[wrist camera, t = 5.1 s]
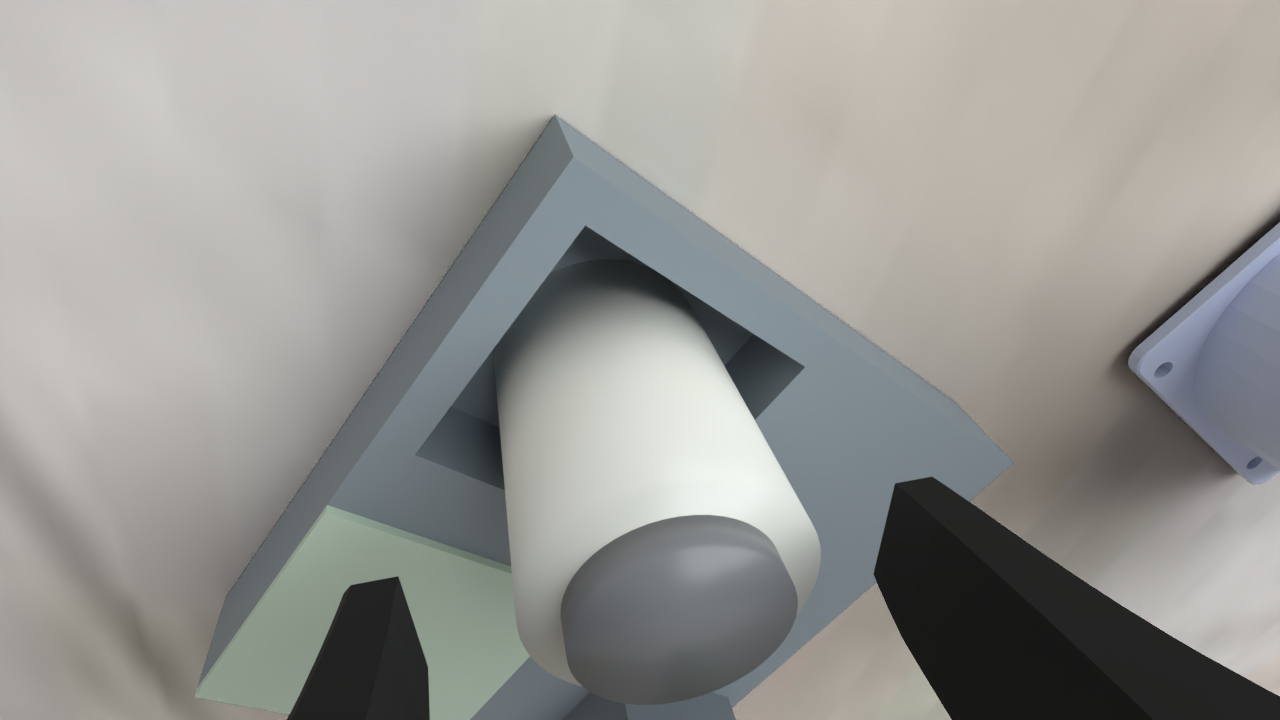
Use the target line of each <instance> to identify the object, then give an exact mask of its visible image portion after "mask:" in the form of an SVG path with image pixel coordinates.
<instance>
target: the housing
mask: <svg viewBox="0 0 1280 720" xmlns="http://www.w3.org/2000/svg"><path fill="white" fill-rule="evenodd" d="M601 259H613V260H623V261H629V262H633V263H637V264H640V265H643V266H646V267H648V268H651V269H653V270H655V271H656V272H658V273H660V274H661V275H663V276H665V277H666V278H667V279H669V280H670V281H671V282H673V283H674V284H675V285H676V286H677V287H678V288H679V289H680V290H681V292H682V293H683V294H684V296H685V297H686V299H687V300H688V302H689V303H690V305H691V307H692V309H693V311H694V312H695V314H696V316H697V318H698V320H699V321H700V323H701V325H702V327H703V329H704V330H705V332H706V334H707V336H708V338H709V339H710V341H711V343H712V345H713V346H714V348H715V350H716V352H717V354H718V355H719V357H720V359H721V361H722V363H723V364H724V366H725V368H726V370H727V372H728V373H729V375H730V377H731V379H732V381H733V382H734V384H735V386H736V388H737V389H738V391H739V393H740V395H741V397H742V398H743V400H744V402H745V404H746V406H747V407H748V409H749V411H750V413H751V415H752V416H753V418H754V420H755V422H756V424H757V425H758V427H759V429H760V431H761V432H762V434H763V436H764V438H765V440H766V441H767V443H768V445H769V447H770V449H771V450H772V452H773V454H774V456H775V458H776V459H777V461H778V463H779V465H780V467H781V468H782V470H783V472H784V474H785V475H786V477H787V479H788V481H789V483H790V484H791V486H792V488H793V490H794V492H795V493H796V495H797V497H798V499H799V501H800V502H801V504H802V506H803V508H804V510H805V511H806V513H807V515H808V517H809V518H810V520H811V522H812V524H813V526H814V528H815V530H816V532H817V534H818V538H819V543H820V547H821V563H820V570H819V575H818V578H817V581H816V584H815V587H814V589H813V591H812V593H811V595H810V597H809V599H808V600H807V602H806V603H805V605H804V606H803V608H802V609H801V611H800V612H799V613H798V615H797V616H796V618H795V621H794V624H793V626H792V628H791V630H790V632H789V634H788V635H787V637H786V638H785V640H784V641H783V643H782V644H781V645H780V646H779V647H778V649H777V650H776V651H775V652H774V653H773V654H772V655H771V656H770V657H769V658H768V659H767V660H766V661H764V662H763V663H762V664H761V665H759V666H758V667H757V668H756V669H754V670H753V671H751V672H750V673H748V674H747V675H745V676H744V677H742V678H740V679H738V680H737V681H735V682H733V683H731V684H729V685H727V686H725V687H723V688H721V689H718V690H716V691H713V692H711V693H708V694H705V695H702V696H699V697H696V698H692V699H688V700H684V701H679V702H673V703H667V704H656V705H634V704H625V703H619V702H614V701H611V700H608V699H604V698H602V697H599V696H597V695H595V694H593V693H591V692H590V691H588V690H587V689H585V688H584V687H581V686H578V685H575V684H572V683H569V682H566V681H564V680H562V679H560V678H558V677H555V676H554V675H552V674H551V673H549V672H547V671H546V670H544V669H543V668H542V667H541V666H540V665H538V664H537V663H536V662H535V661H534V660H533V659H532V658H531V656H530V655H529V654H528V652H527V651H526V650H525V648H524V646H523V644H522V642H521V640H520V638H519V634H518V630H517V626H516V616H515V604H514V593H513V581H512V569H511V557H510V545H509V534H508V522H507V510H506V498H505V486H504V474H503V463H502V451H501V439H500V427H499V415H498V403H497V392H496V380H495V368H494V348H495V346H496V345H497V344H498V342H499V341H500V339H501V338H502V337H503V335H504V334H505V333H506V331H507V330H508V329H509V327H510V326H511V325H512V323H513V322H514V321H515V319H516V318H517V317H518V315H519V314H520V313H521V311H522V310H523V309H524V307H525V306H526V305H527V303H528V302H529V300H530V299H531V298H532V296H533V295H534V294H535V292H536V291H537V290H538V288H539V287H540V286H541V284H542V283H543V282H544V280H545V279H546V278H547V276H548V275H549V274H550V273H551V272H553V271H555V270H558V269H560V268H563V267H565V266H568V265H572V264H575V263H579V262H583V261H590V260H601ZM1013 463H1014V462H1013V461H1012V460H1011V459H1010V458H1009V457H1008V456H1007V455H1006V454H1005V453H1004V452H1003V451H1002V450H1001V449H1000V447H999V446H998V445H997V444H996V443H995V442H994V441H993V440H992V439H991V438H990V437H989V436H988V435H987V434H986V433H985V432H984V431H983V430H982V429H981V428H980V427H979V426H978V425H977V424H976V423H975V422H974V421H973V420H972V418H971V417H970V416H969V415H968V414H967V413H966V412H965V411H964V410H963V409H962V408H961V407H960V406H959V405H958V404H957V403H956V402H954V401H953V400H952V399H950V398H949V397H948V396H946V395H945V394H943V393H942V392H941V391H939V390H938V389H936V388H935V387H934V386H932V385H931V384H929V383H928V382H927V381H925V380H924V379H922V378H921V377H920V376H918V375H917V374H916V373H914V372H913V371H911V370H910V369H909V368H907V367H906V366H904V365H903V364H902V363H900V362H899V361H897V360H896V359H895V358H893V357H892V356H890V355H889V354H888V353H886V352H885V351H884V350H882V349H881V348H879V347H878V346H877V345H875V344H874V343H872V342H871V341H870V340H868V339H867V338H865V337H864V336H863V335H861V334H860V333H858V332H857V331H856V330H854V329H853V328H852V327H850V326H849V325H847V324H846V323H845V322H843V321H842V320H840V319H839V318H838V317H836V316H835V315H833V314H832V313H831V312H829V311H828V310H826V309H825V308H824V307H822V306H821V305H820V304H818V303H817V302H815V301H814V300H813V299H811V298H810V297H808V296H807V295H806V294H804V293H803V292H801V291H800V290H799V289H797V288H796V287H794V286H793V285H792V284H790V283H789V282H788V281H786V280H785V279H783V278H782V277H781V276H779V275H778V274H776V273H775V272H774V271H772V270H771V269H769V268H768V267H767V266H765V265H764V264H762V263H761V262H760V261H758V260H757V259H756V258H754V257H753V256H751V255H750V254H749V253H747V252H746V251H744V250H743V249H742V248H740V247H739V246H737V245H736V244H735V243H733V242H732V241H730V240H729V239H728V238H726V237H725V236H724V235H722V234H721V233H719V232H718V231H717V230H715V229H714V228H712V227H711V226H710V225H708V224H707V223H705V222H704V221H703V220H701V219H700V218H698V217H697V216H696V215H694V214H693V213H692V212H690V211H689V210H687V209H686V208H685V207H683V206H682V205H680V204H679V203H678V202H676V201H675V200H673V199H672V198H671V197H669V196H668V195H666V194H665V193H664V192H662V191H661V190H660V189H658V188H657V187H655V186H654V185H653V184H651V183H650V182H648V181H647V180H646V179H644V178H643V177H641V176H640V175H639V174H637V173H636V172H634V171H633V170H632V169H630V168H629V167H628V166H626V165H625V164H623V163H622V162H621V161H619V160H618V159H616V158H615V157H614V156H612V155H611V154H609V153H608V152H607V151H605V150H604V149H602V148H601V147H600V146H598V145H597V144H596V143H594V142H593V141H591V140H590V139H589V138H587V137H586V136H584V135H583V134H582V133H580V132H579V131H577V130H576V129H575V128H573V127H572V126H570V125H569V124H568V123H566V122H565V121H564V120H562V119H561V118H559V117H558V116H557V115H555V116H554V117H553V119H552V120H551V121H550V123H549V124H548V126H547V127H546V129H545V130H544V132H543V133H542V135H541V136H540V138H539V139H538V141H537V142H536V143H535V145H534V146H533V148H532V149H531V151H530V152H529V154H528V155H527V157H526V158H525V160H524V161H523V163H522V164H521V165H520V167H519V168H518V170H517V171H516V173H515V174H514V176H513V177H512V179H511V180H510V182H509V183H508V185H507V186H506V187H505V189H504V190H503V192H502V193H501V195H500V196H499V198H498V199H497V201H496V202H495V204H494V205H493V207H492V208H491V209H490V211H489V212H488V214H487V215H486V217H485V218H484V220H483V221H482V223H481V224H480V226H479V227H478V229H477V230H476V231H475V233H474V234H473V236H472V237H471V239H470V240H469V242H468V243H467V245H466V246H465V248H464V249H463V251H462V252H461V253H460V255H459V256H458V258H457V259H456V261H455V262H454V264H453V265H452V267H451V268H450V270H449V271H448V273H447V274H446V275H445V277H444V278H443V280H442V281H441V283H440V284H439V286H438V287H437V289H436V290H435V292H434V293H433V295H432V296H431V297H430V299H429V300H428V302H427V303H426V305H425V306H424V308H423V309H422V311H421V312H420V314H419V315H418V317H417V318H416V319H415V321H414V322H413V324H412V325H411V327H410V328H409V330H408V331H407V333H406V334H405V336H404V337H403V339H402V340H401V341H400V343H399V344H398V346H397V347H396V349H395V350H394V352H393V353H392V355H391V356H390V358H389V359H388V361H387V362H386V363H385V365H384V366H383V368H382V369H381V371H380V372H379V374H378V375H377V377H376V378H375V380H374V381H373V383H372V384H371V385H370V387H369V388H368V390H367V391H366V393H365V394H364V396H363V397H362V399H361V400H360V402H359V403H358V405H357V406H356V407H355V409H354V410H353V412H352V413H351V415H350V416H349V418H348V419H347V421H346V422H345V424H344V425H343V427H342V428H341V429H340V431H339V432H338V434H337V435H336V437H335V438H334V440H333V441H332V443H331V444H330V446H329V447H328V449H327V450H326V451H325V453H324V454H323V456H322V457H321V459H320V460H319V462H318V463H317V465H316V466H315V468H314V469H313V471H312V472H311V473H310V475H309V476H308V478H307V479H306V481H305V482H304V484H303V485H302V487H301V488H300V490H299V491H298V493H297V494H296V495H295V497H294V498H293V500H292V501H291V503H290V504H289V506H288V507H287V509H286V510H285V512H284V513H283V515H282V516H281V517H280V519H279V520H278V522H277V523H276V525H275V526H274V528H273V529H272V531H271V532H270V534H269V535H268V537H267V538H266V539H265V541H264V542H263V544H262V545H261V547H260V548H259V550H258V551H257V553H256V554H255V556H254V557H253V559H252V560H251V561H250V563H249V564H248V566H247V567H246V569H245V570H244V572H243V573H242V575H241V576H240V578H239V579H238V581H237V582H236V583H235V585H234V586H233V588H232V589H231V591H230V592H229V594H228V595H227V597H226V599H225V602H224V605H223V608H222V611H221V614H220V617H219V621H218V624H217V627H216V630H215V633H214V636H213V640H212V643H211V646H210V649H209V652H208V655H207V658H206V662H205V665H204V668H203V671H202V674H201V677H200V681H199V684H198V687H197V690H196V693H195V696H194V697H195V698H200V699H206V700H211V701H217V702H222V703H228V704H233V705H238V706H244V707H249V708H255V709H260V710H266V711H271V712H276V713H282V714H287V715H290V713H291V711H292V709H293V707H294V705H295V703H296V701H297V699H298V697H299V695H300V693H301V690H302V688H303V686H304V684H305V682H306V680H307V678H308V675H309V673H310V671H311V669H312V667H313V665H314V662H315V660H316V658H317V656H318V654H319V651H320V649H321V647H322V645H323V642H324V640H325V638H326V635H327V633H328V631H329V628H330V626H331V624H332V621H333V619H334V616H335V614H336V612H337V609H338V607H339V604H340V602H341V599H342V596H343V594H344V592H345V591H346V590H347V589H348V588H349V587H350V586H351V585H354V584H359V583H365V582H370V581H375V580H381V579H386V578H392V577H397V576H399V580H400V583H401V586H402V589H403V592H404V595H405V598H406V601H407V604H408V607H409V610H410V613H411V616H412V619H413V622H414V625H415V629H416V632H417V635H418V638H419V641H420V644H421V647H422V650H423V653H424V656H425V659H426V662H427V665H428V679H429V709H430V720H736V719H735V716H734V713H733V710H732V707H733V706H735V705H736V704H737V703H738V702H739V701H740V700H742V699H743V698H744V697H745V696H746V695H747V694H748V693H750V692H751V691H752V690H753V689H754V688H755V687H756V686H758V685H759V684H760V683H761V682H762V681H763V680H765V679H766V678H767V677H768V676H769V675H770V674H771V673H773V672H774V671H775V670H776V669H777V668H778V667H779V666H781V665H782V664H783V663H784V662H785V661H786V660H787V659H789V658H790V657H791V656H792V655H793V654H794V653H796V652H797V651H798V650H799V649H800V648H801V647H802V646H804V645H805V644H806V643H807V642H808V641H809V640H810V639H812V638H813V637H814V636H815V635H816V634H817V633H819V632H820V631H821V630H822V629H823V628H824V627H825V626H827V625H828V624H829V623H830V622H831V621H832V620H833V619H835V618H836V617H837V616H838V615H839V614H840V613H841V612H843V611H844V610H845V609H846V608H847V607H848V606H850V605H851V604H852V603H853V602H854V601H855V600H856V599H858V598H859V597H860V596H861V595H862V594H863V593H864V592H866V591H867V590H868V589H869V588H870V587H871V586H873V585H874V584H875V583H876V582H877V581H876V579H875V577H874V569H875V565H876V561H877V557H878V553H879V548H880V544H881V540H882V536H883V532H884V527H885V523H886V519H887V515H888V511H889V506H890V502H891V498H892V494H893V490H894V486H895V483H900V482H905V481H911V480H916V479H921V478H927V477H934V478H935V479H937V480H938V481H940V482H941V483H943V484H944V485H946V486H947V487H949V488H950V489H951V490H953V491H954V492H956V493H957V494H959V495H960V496H962V497H963V498H964V499H966V500H967V501H970V500H971V499H972V498H974V497H975V496H976V495H977V494H978V493H979V492H981V491H982V490H983V489H984V488H985V487H986V486H987V485H989V484H990V483H991V482H992V481H993V480H994V479H995V478H997V477H998V476H999V475H1000V474H1001V473H1002V472H1004V471H1005V470H1006V469H1007V468H1008V467H1009V466H1010V465H1012V464H1013Z"/></svg>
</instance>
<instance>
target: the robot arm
mask: <svg viewBox="0 0 1280 720" xmlns="http://www.w3.org/2000/svg"><path fill="white" fill-rule="evenodd" d="M1128 366H1129V368H1130V369H1131V370H1132V371H1133V372H1134V373H1135V374H1136V375H1137V376H1138V377H1139V378H1140V379H1141V380H1142V381H1143V382H1144V383H1145V384H1146V385H1147V386H1148V387H1149V388H1150V389H1152V390H1153V391H1154V392H1155V393H1156V394H1157V395H1158V396H1159V397H1160V398H1161V399H1162V400H1163V401H1164V402H1165V403H1166V404H1167V405H1168V406H1169V407H1170V408H1171V409H1172V410H1173V411H1174V412H1175V413H1176V414H1177V415H1178V416H1179V417H1180V418H1181V419H1183V420H1184V421H1185V422H1186V423H1187V424H1188V425H1189V426H1190V427H1191V428H1192V429H1193V430H1194V431H1195V432H1196V433H1197V434H1198V435H1199V436H1200V437H1201V438H1202V439H1203V440H1204V441H1205V442H1206V443H1207V444H1208V445H1209V446H1210V447H1211V448H1213V449H1214V450H1215V451H1216V452H1217V453H1218V454H1219V455H1220V456H1221V457H1222V458H1223V459H1224V460H1225V461H1226V462H1227V463H1228V464H1229V465H1230V466H1231V467H1232V468H1233V469H1234V470H1235V471H1236V472H1237V473H1238V474H1239V475H1240V476H1241V477H1243V478H1244V479H1245V480H1247V481H1248V482H1249V483H1251V484H1261V483H1263V482H1266V481H1267V480H1269V479H1270V478H1272V477H1273V476H1274V475H1276V474H1277V473H1278V472H1280V222H1279V223H1278V224H1277V225H1276V226H1274V227H1273V228H1272V229H1271V230H1270V231H1269V232H1268V233H1266V234H1265V235H1264V236H1263V237H1262V238H1261V239H1260V240H1258V241H1257V242H1256V243H1255V244H1254V245H1253V246H1252V247H1250V248H1249V249H1248V250H1247V251H1246V252H1245V253H1244V254H1242V255H1241V256H1240V257H1239V258H1238V259H1237V260H1236V261H1234V262H1233V263H1232V264H1231V265H1230V266H1229V267H1228V268H1226V269H1225V270H1224V271H1223V272H1222V273H1221V274H1220V275H1218V276H1217V277H1216V278H1215V279H1214V280H1213V281H1212V282H1210V283H1209V284H1208V285H1207V286H1206V287H1205V288H1204V289H1202V290H1201V291H1200V292H1199V293H1198V294H1197V295H1196V296H1194V297H1193V298H1192V299H1191V300H1190V301H1189V302H1188V303H1186V304H1185V305H1184V306H1183V307H1182V308H1181V309H1180V310H1178V311H1177V312H1176V313H1175V314H1174V315H1173V316H1172V317H1170V318H1169V319H1168V320H1167V321H1166V322H1165V323H1164V324H1162V325H1161V326H1160V327H1159V328H1158V329H1157V330H1156V331H1154V332H1153V333H1152V334H1151V335H1150V336H1149V337H1148V338H1146V339H1145V340H1144V341H1143V342H1142V343H1141V344H1140V345H1138V346H1137V347H1136V348H1135V349H1134V351H1133V352H1132V353H1131V355H1130V357H1129V361H1128ZM874 577H875V579H876V581H877V584H878V586H879V588H880V590H881V593H882V595H883V597H884V599H885V602H886V604H887V606H888V609H889V611H890V613H891V615H892V617H893V619H894V621H895V623H896V625H897V628H898V630H899V632H900V634H901V636H902V638H903V640H904V641H905V643H906V645H907V647H908V648H909V650H910V652H911V653H912V655H913V657H914V658H915V660H916V662H917V663H918V665H919V667H920V668H921V670H922V672H923V673H924V675H925V677H926V678H927V680H928V681H929V683H930V685H931V686H932V688H933V690H934V691H935V693H936V695H937V696H938V698H939V699H940V701H941V703H942V704H943V706H944V708H945V709H946V711H947V712H948V714H949V716H950V717H951V719H952V720H1280V696H1278V695H1276V694H1274V693H1272V692H1270V691H1268V690H1266V689H1264V688H1263V687H1261V686H1259V685H1257V684H1255V683H1253V682H1252V681H1250V680H1248V679H1246V678H1244V677H1243V676H1241V675H1239V674H1237V673H1235V672H1233V671H1232V670H1230V669H1228V668H1226V667H1224V666H1223V665H1221V664H1219V663H1217V662H1215V661H1213V660H1212V659H1210V658H1208V657H1206V656H1204V655H1203V654H1201V653H1199V652H1197V651H1196V650H1194V649H1192V648H1190V647H1189V646H1187V645H1185V644H1184V643H1182V642H1180V641H1178V640H1177V639H1175V638H1173V637H1172V636H1170V635H1168V634H1167V633H1165V632H1163V631H1162V630H1160V629H1159V628H1157V627H1155V626H1154V625H1152V624H1151V623H1149V622H1147V621H1146V620H1144V619H1142V618H1141V617H1139V616H1138V615H1136V614H1134V613H1133V612H1131V611H1129V610H1128V609H1126V608H1125V607H1123V606H1121V605H1120V604H1118V603H1117V602H1115V601H1114V600H1112V599H1110V598H1109V597H1107V596H1106V595H1104V594H1103V593H1101V592H1100V591H1098V590H1097V589H1095V588H1093V587H1092V586H1090V585H1089V584H1087V583H1086V582H1084V581H1083V580H1081V579H1080V578H1078V577H1077V576H1075V575H1074V574H1072V573H1071V572H1069V571H1068V570H1066V569H1065V568H1063V567H1062V566H1060V565H1059V564H1058V563H1056V562H1055V561H1053V560H1052V559H1050V558H1049V557H1047V556H1046V555H1044V554H1043V553H1041V552H1040V551H1039V550H1037V549H1036V548H1034V547H1033V546H1031V545H1030V544H1028V543H1027V542H1026V541H1024V540H1023V539H1021V538H1020V537H1018V536H1017V535H1016V534H1014V533H1013V532H1011V531H1010V530H1008V529H1007V528H1006V527H1004V526H1003V525H1001V524H1000V523H998V522H997V521H996V520H994V519H993V518H991V517H990V516H989V515H987V514H986V513H984V512H983V511H981V510H980V509H979V508H977V507H976V506H974V505H973V504H972V503H970V502H969V501H967V500H966V499H964V498H963V497H962V496H960V495H959V494H957V493H956V492H954V491H953V490H951V489H950V488H949V487H947V486H946V485H944V484H943V483H941V482H940V481H938V480H937V479H935V478H934V477H927V478H921V479H916V480H911V481H905V482H900V483H895V486H894V490H893V494H892V498H891V502H890V506H889V511H888V515H887V519H886V523H885V527H884V532H883V536H882V540H881V544H880V548H879V553H878V557H877V561H876V565H875V569H874ZM287 720H430V709H429V679H428V665H427V662H426V659H425V656H424V653H423V650H422V647H421V644H420V641H419V638H418V635H417V632H416V629H415V625H414V622H413V619H412V616H411V613H410V610H409V607H408V604H407V601H406V598H405V595H404V592H403V589H402V586H401V583H400V580H399V576H397V577H392V578H386V579H381V580H375V581H370V582H365V583H359V584H354V585H351V586H350V587H349V588H348V589H347V590H346V591H345V592H344V594H343V596H342V599H341V602H340V604H339V607H338V609H337V612H336V614H335V616H334V619H333V621H332V624H331V626H330V628H329V631H328V633H327V635H326V638H325V640H324V642H323V645H322V647H321V649H320V651H319V654H318V656H317V658H316V660H315V662H314V665H313V667H312V669H311V671H310V673H309V675H308V678H307V680H306V682H305V684H304V686H303V688H302V690H301V693H300V695H299V697H298V699H297V701H296V703H295V705H294V707H293V709H292V711H291V713H290V715H289V717H288V719H287Z"/></svg>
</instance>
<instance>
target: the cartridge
mask: <svg viewBox="0 0 1280 720" xmlns="http://www.w3.org/2000/svg"><path fill="white" fill-rule="evenodd" d="M494 368H495V380H496V392H497V403H498V415H499V427H500V439H501V451H502V463H503V474H504V486H505V498H506V510H507V522H508V534H509V545H510V557H511V569H512V581H513V593H514V604H515V616H516V626H517V630H518V634H519V638H520V640H521V642H522V644H523V646H524V648H525V650H526V651H527V652H528V654H529V655H530V656H531V658H532V659H533V660H534V661H535V662H536V663H537V664H538V665H540V666H541V667H542V668H543V669H544V670H546V671H547V672H549V673H551V674H552V675H554V676H555V677H558V678H560V679H562V680H564V681H566V682H569V683H572V684H575V685H578V686H581V687H584V688H585V689H587V690H588V691H590V692H591V693H593V694H595V695H597V696H599V697H602V698H604V699H608V700H611V701H614V702H619V703H625V704H634V705H656V704H667V703H673V702H679V701H684V700H688V699H692V698H696V697H699V696H702V695H705V694H708V693H711V692H713V691H716V690H718V689H721V688H723V687H725V686H727V685H729V684H731V683H733V682H735V681H737V680H738V679H740V678H742V677H744V676H745V675H747V674H748V673H750V672H751V671H753V670H754V669H756V668H757V667H758V666H759V665H761V664H762V663H763V662H764V661H766V660H767V659H768V658H769V657H770V656H771V655H772V654H773V653H774V652H775V651H776V650H777V649H778V647H779V646H780V645H781V644H782V643H783V641H784V640H785V638H786V637H787V635H788V634H789V632H790V630H791V628H792V626H793V624H794V621H795V618H796V616H797V615H798V613H799V612H800V611H801V609H802V608H803V606H804V605H805V603H806V602H807V600H808V599H809V597H810V595H811V593H812V591H813V589H814V587H815V584H816V581H817V578H818V575H819V570H820V563H821V547H820V543H819V538H818V534H817V532H816V530H815V528H814V526H813V524H812V522H811V520H810V518H809V517H808V515H807V513H806V511H805V510H804V508H803V506H802V504H801V502H800V501H799V499H798V497H797V495H796V493H795V492H794V490H793V488H792V486H791V484H790V483H789V481H788V479H787V477H786V475H785V474H784V472H783V470H782V468H781V467H780V465H779V463H778V461H777V459H776V458H775V456H774V454H773V452H772V450H771V449H770V447H769V445H768V443H767V441H766V440H765V438H764V436H763V434H762V432H761V431H760V429H759V427H758V425H757V424H756V422H755V420H754V418H753V416H752V415H751V413H750V411H749V409H748V407H747V406H746V404H745V402H744V400H743V398H742V397H741V395H740V393H739V391H738V389H737V388H736V386H735V384H734V382H733V381H732V379H731V377H730V375H729V373H728V372H727V370H726V368H725V366H724V364H723V363H722V361H721V359H720V357H719V355H718V354H717V352H716V350H715V348H714V346H713V345H712V343H711V341H710V339H709V338H708V336H707V334H706V332H705V330H704V329H703V327H702V325H701V323H700V321H699V320H698V318H697V316H696V314H695V312H694V311H693V309H692V307H691V305H690V303H689V302H688V300H687V299H686V297H685V296H684V294H683V293H682V292H681V290H680V289H679V288H678V287H677V286H676V285H675V284H674V283H673V282H671V281H670V280H669V279H667V278H666V277H665V276H663V275H661V274H660V273H658V272H656V271H655V270H653V269H651V268H648V267H646V266H643V265H640V264H637V263H633V262H629V261H623V260H613V259H601V260H590V261H583V262H579V263H575V264H572V265H568V266H565V267H563V268H560V269H558V270H555V271H553V272H551V273H550V274H549V275H548V276H547V278H546V279H545V280H544V282H543V283H542V284H541V286H540V287H539V288H538V290H537V291H536V292H535V294H534V295H533V296H532V298H531V299H530V300H529V302H528V303H527V305H526V306H525V307H524V309H523V310H522V311H521V313H520V314H519V315H518V317H517V318H516V319H515V321H514V322H513V323H512V325H511V326H510V327H509V329H508V330H507V331H506V333H505V334H504V335H503V337H502V338H501V339H500V341H499V342H498V344H497V345H496V346H495V348H494Z"/></svg>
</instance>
